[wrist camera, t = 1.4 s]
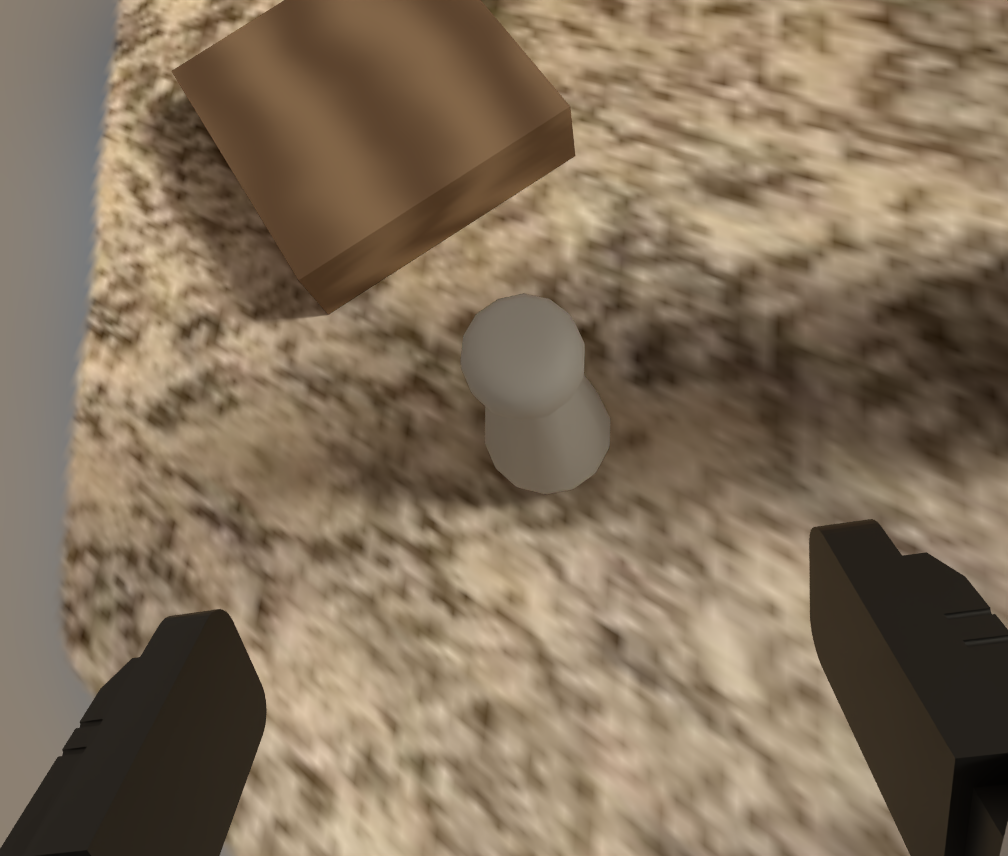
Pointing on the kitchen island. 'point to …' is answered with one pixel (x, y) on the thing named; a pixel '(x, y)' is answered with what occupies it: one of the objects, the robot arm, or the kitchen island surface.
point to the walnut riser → (375, 128)
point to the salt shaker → (535, 394)
